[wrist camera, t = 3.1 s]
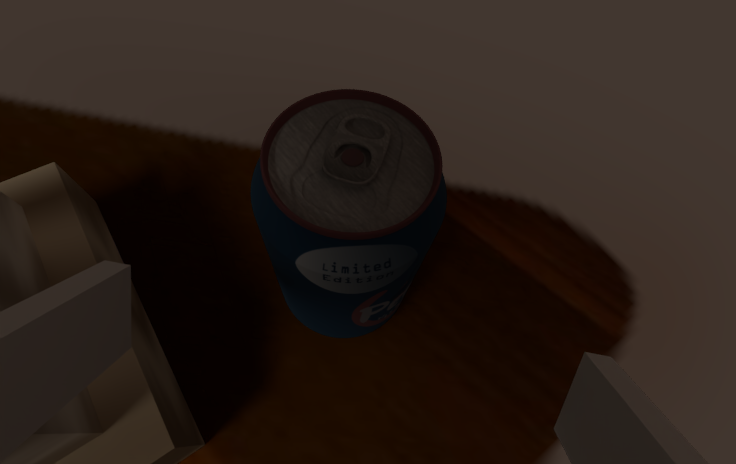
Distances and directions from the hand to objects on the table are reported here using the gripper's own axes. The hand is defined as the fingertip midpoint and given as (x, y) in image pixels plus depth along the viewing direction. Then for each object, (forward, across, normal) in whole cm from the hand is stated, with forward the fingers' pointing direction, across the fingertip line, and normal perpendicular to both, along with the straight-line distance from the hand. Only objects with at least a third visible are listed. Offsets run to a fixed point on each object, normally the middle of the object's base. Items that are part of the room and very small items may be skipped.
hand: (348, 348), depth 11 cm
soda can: (+11, -1, -3) cm, 12 cm away
